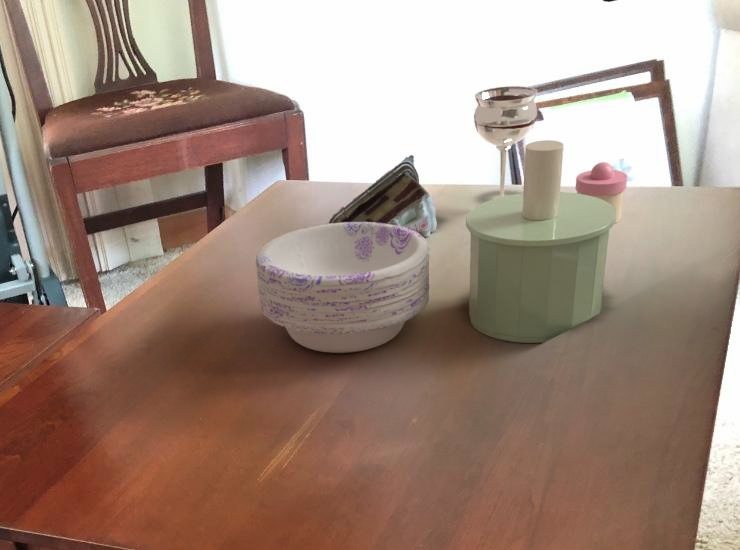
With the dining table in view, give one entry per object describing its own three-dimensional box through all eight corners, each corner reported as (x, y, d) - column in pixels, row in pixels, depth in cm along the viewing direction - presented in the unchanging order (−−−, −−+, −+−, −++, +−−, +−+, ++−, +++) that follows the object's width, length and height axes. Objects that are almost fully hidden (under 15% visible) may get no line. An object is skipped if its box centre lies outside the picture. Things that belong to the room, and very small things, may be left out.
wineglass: (466, 202, 113) (468, 90, 105) (524, 196, 113) (530, 83, 105) (477, 221, 108) (480, 104, 100) (537, 214, 108) (545, 96, 100)
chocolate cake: (352, 263, 103) (429, 169, 98) (320, 228, 106) (393, 136, 102) (398, 298, 110) (472, 212, 105) (367, 264, 114) (437, 180, 109)
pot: (620, 330, 83) (633, 231, 77) (493, 351, 82) (497, 253, 77) (569, 283, 92) (577, 191, 86) (454, 302, 91) (455, 211, 86)
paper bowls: (443, 301, 91) (444, 216, 86) (410, 374, 80) (408, 281, 75) (292, 297, 96) (284, 216, 91) (241, 365, 85) (229, 277, 80)
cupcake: (632, 216, 104) (639, 159, 100) (602, 230, 102) (608, 172, 98) (592, 207, 107) (597, 153, 104) (562, 221, 105) (567, 165, 101)
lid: (640, 239, 78) (652, 152, 73) (492, 263, 77) (495, 177, 73) (580, 196, 87) (586, 117, 83) (447, 217, 86) (448, 138, 82)
